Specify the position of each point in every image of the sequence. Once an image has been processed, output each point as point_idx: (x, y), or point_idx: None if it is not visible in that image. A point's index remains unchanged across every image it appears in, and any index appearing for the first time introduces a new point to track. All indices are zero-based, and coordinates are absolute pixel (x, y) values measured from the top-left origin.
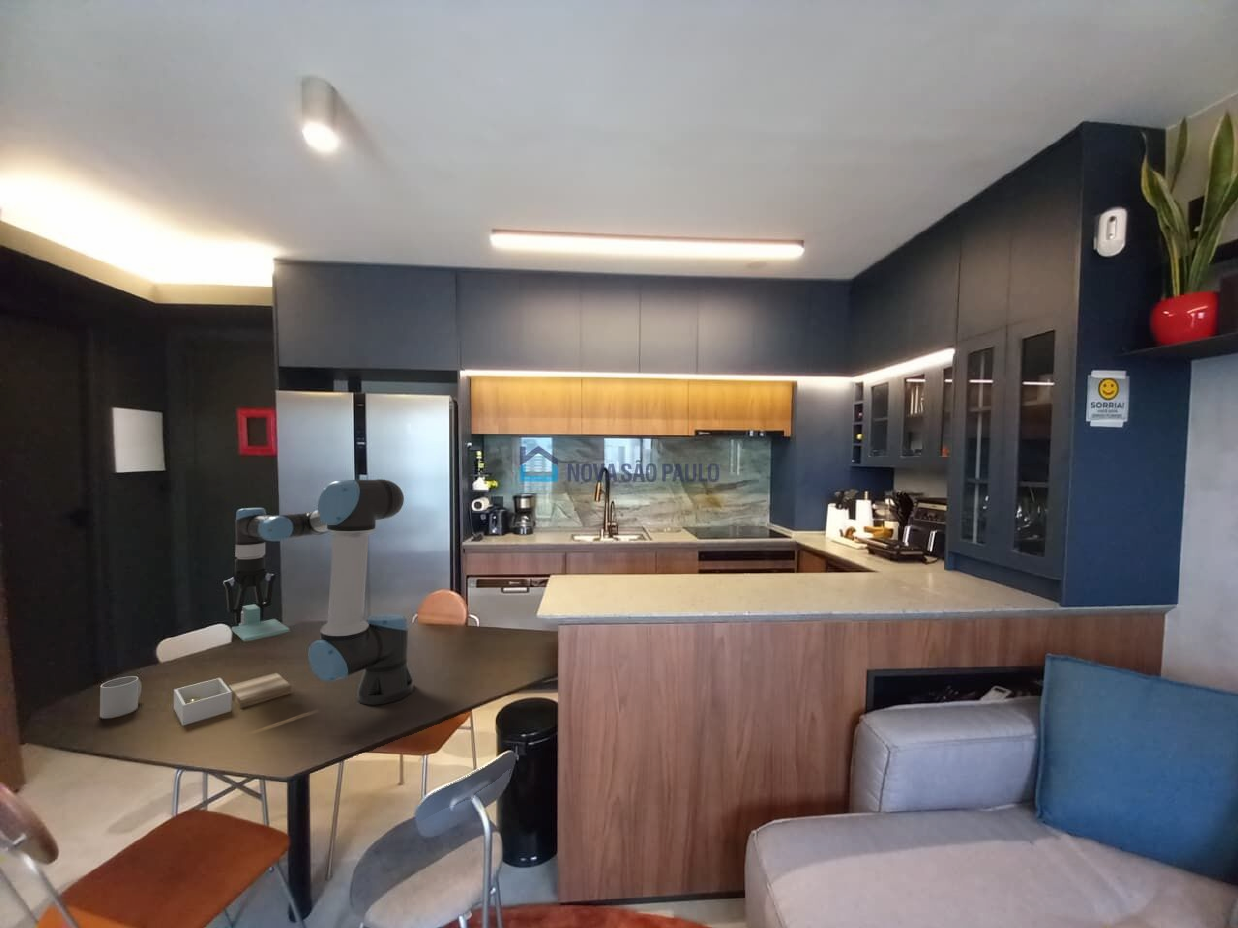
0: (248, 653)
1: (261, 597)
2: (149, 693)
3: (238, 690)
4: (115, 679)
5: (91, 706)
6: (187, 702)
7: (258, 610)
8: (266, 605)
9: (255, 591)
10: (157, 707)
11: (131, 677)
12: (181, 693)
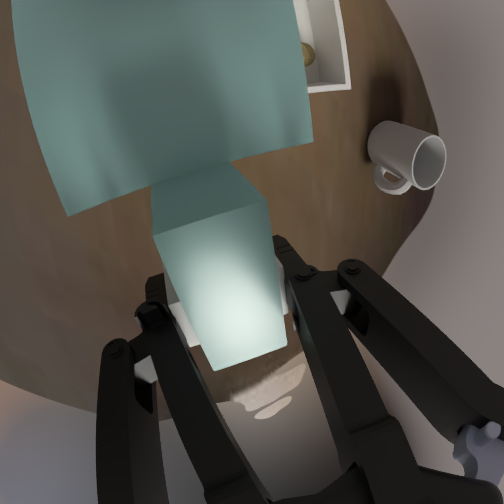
0: (198, 352)
1: (171, 397)
2: (347, 220)
3: None
4: (430, 185)
5: (401, 210)
6: (312, 49)
7: (166, 218)
8: (130, 345)
9: (241, 453)
10: (342, 131)
11: (415, 182)
12: (330, 83)
